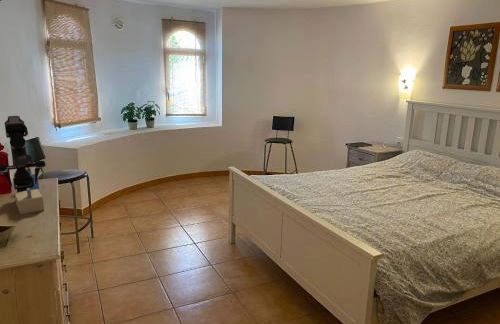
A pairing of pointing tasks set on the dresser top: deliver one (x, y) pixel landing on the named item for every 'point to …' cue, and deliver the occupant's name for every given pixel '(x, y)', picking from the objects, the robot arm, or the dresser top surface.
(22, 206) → the carton
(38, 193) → the carton lid
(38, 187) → the perfume bottle
